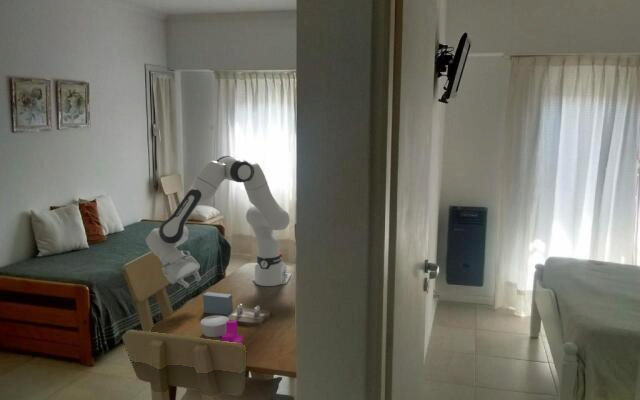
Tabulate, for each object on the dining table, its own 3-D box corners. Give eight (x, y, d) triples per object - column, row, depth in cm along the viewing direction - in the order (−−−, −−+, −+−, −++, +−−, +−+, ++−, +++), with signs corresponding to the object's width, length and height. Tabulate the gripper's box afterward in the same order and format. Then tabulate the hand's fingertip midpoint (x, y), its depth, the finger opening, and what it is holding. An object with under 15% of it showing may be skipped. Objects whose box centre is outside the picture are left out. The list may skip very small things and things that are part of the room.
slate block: (208, 309, 235) (207, 291, 234) (232, 312, 231) (232, 294, 230) (203, 312, 231) (203, 294, 230) (228, 315, 228) (227, 297, 226)
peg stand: (239, 310, 233) (238, 298, 232) (272, 314, 228) (272, 302, 227) (223, 322, 219) (223, 310, 219) (258, 327, 214) (258, 314, 214)
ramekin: (222, 325, 217) (221, 312, 216) (234, 333, 208) (234, 321, 208) (196, 332, 211) (195, 319, 210) (208, 341, 202) (207, 328, 201)
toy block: (240, 356, 189) (239, 336, 188) (222, 356, 189) (221, 337, 188) (244, 338, 204) (243, 320, 203) (227, 339, 204) (227, 320, 203)
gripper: (163, 262, 224) (185, 286, 222) (190, 250, 243) (209, 272, 241) (155, 271, 226) (176, 295, 224) (182, 258, 245) (201, 280, 243)
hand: (194, 283), depth 233 cm, fingers open, 8 cm apart
